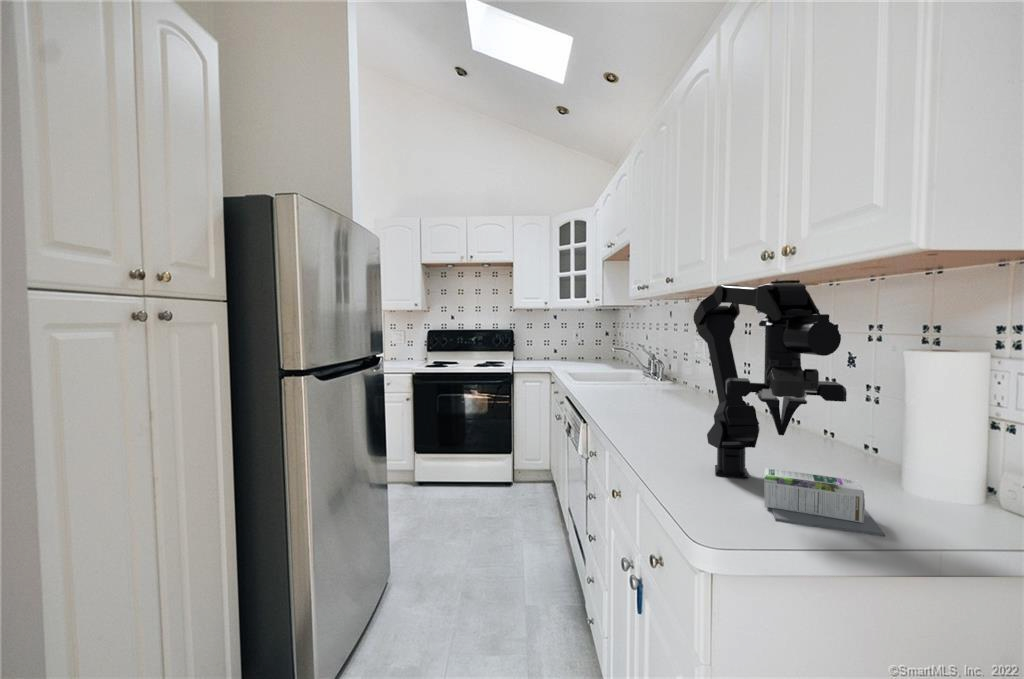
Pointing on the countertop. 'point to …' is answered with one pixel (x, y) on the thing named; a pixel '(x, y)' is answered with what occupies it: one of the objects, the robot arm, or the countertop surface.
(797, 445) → the countertop surface
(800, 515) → the mat
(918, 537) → the countertop surface
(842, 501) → the syrup box
